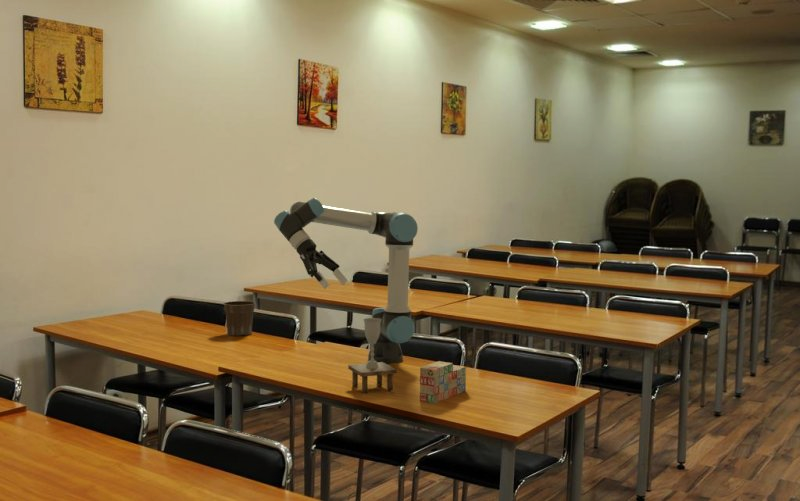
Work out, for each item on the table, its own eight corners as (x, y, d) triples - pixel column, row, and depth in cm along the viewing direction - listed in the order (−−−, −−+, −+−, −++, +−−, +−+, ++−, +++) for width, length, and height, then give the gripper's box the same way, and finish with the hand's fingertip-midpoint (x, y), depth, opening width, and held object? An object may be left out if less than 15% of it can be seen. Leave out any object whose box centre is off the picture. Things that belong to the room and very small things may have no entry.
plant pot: (230, 330, 418) (229, 300, 417) (259, 331, 416) (259, 301, 415) (218, 336, 402) (218, 304, 401) (249, 337, 400) (249, 305, 399)
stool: (382, 382, 310) (382, 362, 309) (396, 390, 297) (397, 369, 296) (348, 385, 304) (348, 365, 303) (361, 394, 291) (361, 372, 290)
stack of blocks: (451, 388, 301) (452, 356, 300) (465, 391, 297) (466, 358, 296) (419, 401, 284) (419, 366, 283) (434, 403, 280) (434, 369, 279)
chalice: (378, 369, 296) (379, 321, 294) (361, 368, 297) (361, 320, 296) (383, 365, 303) (383, 318, 301) (365, 364, 304) (366, 317, 303)
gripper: (314, 248, 327) (346, 287, 321) (279, 253, 304) (313, 294, 299) (325, 236, 324) (358, 275, 318) (291, 239, 301) (325, 281, 296)
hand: (336, 284), depth 309 cm, fingers open, 13 cm apart
